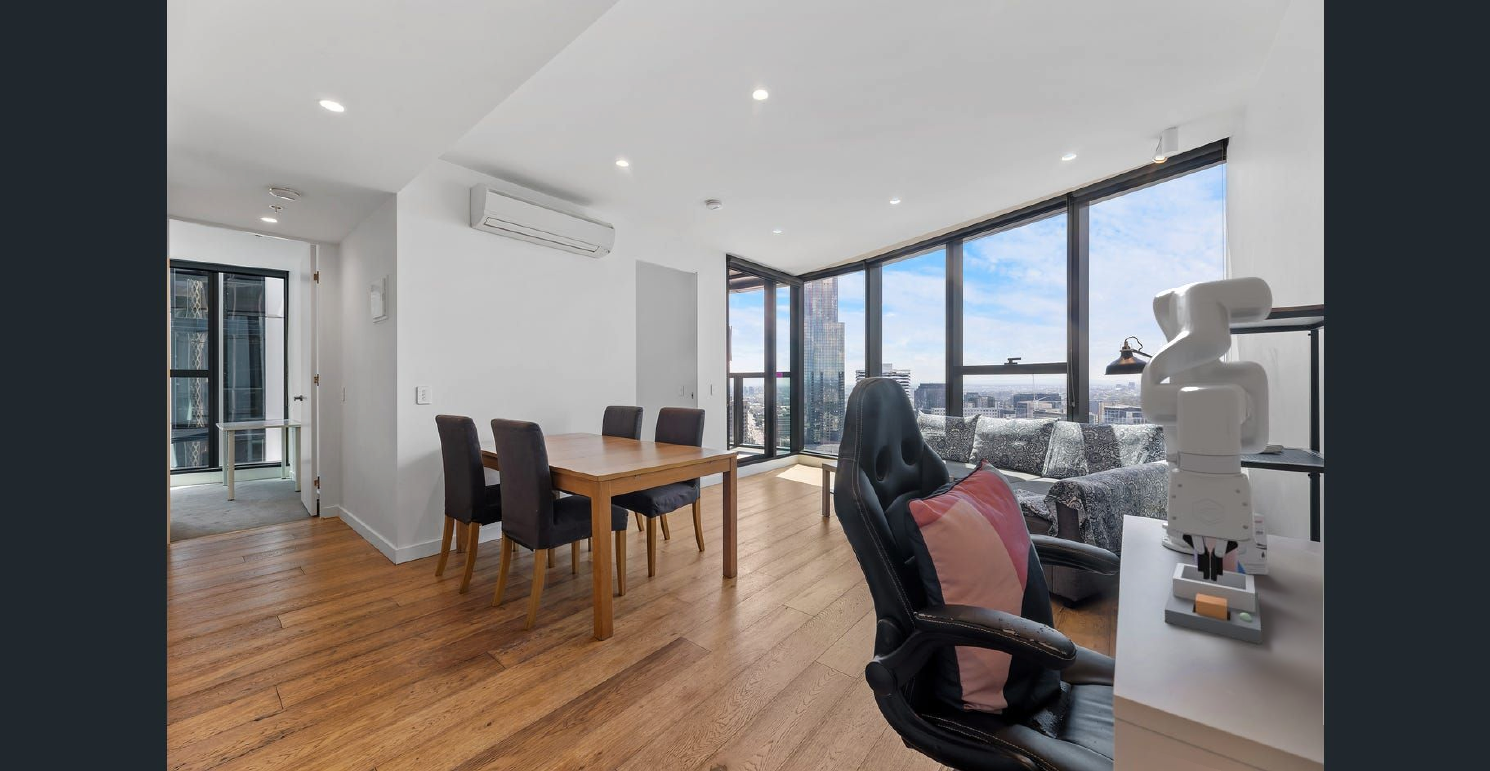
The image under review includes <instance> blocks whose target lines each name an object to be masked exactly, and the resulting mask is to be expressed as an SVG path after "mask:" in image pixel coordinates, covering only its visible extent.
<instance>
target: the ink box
mask: <svg viewBox="0 0 1490 771" xmlns="http://www.w3.org/2000/svg"><path fill="white" fill-rule="evenodd" d="M1254 536H1255V539H1256V542H1257V546H1256V547H1255V548H1237V560H1238V573H1241V574H1247V575H1268V574H1269V571H1268V570H1269V568H1268V567H1269V566H1268V564H1269V563H1268V543H1267V542H1268V541H1267V516H1266V515H1264V514H1260V513H1256V512H1254Z"/></svg>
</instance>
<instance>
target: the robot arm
mask: <svg viewBox="0 0 1490 771" xmlns="http://www.w3.org/2000/svg"><path fill="white" fill-rule="evenodd" d="M1272 309H1273V293H1272V289H1271V288H1270V286H1269V284H1268V283H1267V282H1266V281H1265V280H1264V279H1263V278H1260V277H1256V276H1247V277H1236V278H1235V277H1234V278H1227V279H1217V280H1208V281H1200V282H1193V283H1190V284H1189V283H1188V284H1186V285H1184V286H1181V287H1178V288H1177V287H1176V288H1171V289H1167V290H1164V291H1161V292H1159V293H1158V294H1156V295H1155V297H1153V301H1152V310H1153V313H1154V314H1153V315H1154V318H1155V320H1156V322H1157V324H1158V326H1159V328H1160V329H1161V331H1162V333H1163V335H1164V337H1165V339H1166V341H1167V344H1166V345H1164V346H1163V347H1162V348H1160V349H1159V350H1157V351H1156V352H1155V353H1154V354H1153V355H1152V357H1151V358H1150V359H1149V360H1148V361H1147V362H1146V364H1145V366H1144V368H1143V370H1142V373H1141V377H1140V409H1141V410H1140V411H1141V414H1142V417H1143V418H1144V419H1145V420H1146V421H1147V422H1148V423H1150V424H1152V425H1154V426H1155V425H1156V426H1162V433H1163V437H1164V441H1165V446H1166V454H1165V462H1166V463H1167V464H1168V468H1167V469H1168V489H1167V506H1166V507H1167V509H1166V510H1167V513H1166V514H1167V516H1166V517H1167V523H1162V525H1161V527H1162V529H1164V530H1165V533H1166V535H1165V536H1163V537H1161V544H1162V545H1163V546H1164V547H1166V548H1169V549H1171V550H1174V551H1177V552H1181V553H1185V554H1191V555H1194V550H1195V552H1196V553H1197V561H1198V571H1199V572H1203V579H1205V580H1208V579H1210V568H1211V580H1212V581H1216V582H1217V575H1221V576H1223V557H1224V556H1225V555H1226V554H1227V553H1229V552H1231V551H1232V550H1234V549H1236V548H1255V547H1256V546H1257V542H1256V539H1255V536H1254V513H1255V512H1254V511H1255V510H1254V504H1253V493H1252V489H1251V484H1250V480H1249V477H1248V475H1247V474H1245V473H1242V464H1241V463H1242V459H1241V457H1242V456H1241V455H1257V454H1258V455H1259V454H1260V453H1262V452H1264V451H1265V450H1266V449H1267V447H1268V444H1269V436H1270V420H1269V419H1270V417H1269V416H1270V415H1269V414H1270V413H1269V412H1270V409H1269V407H1270V406H1269V402H1270V401H1269V400H1270V399H1269V397H1270V395H1269V394H1270V392H1269V390H1270V389H1269V380H1268V375H1267V372H1266V370H1265V368H1264V367H1263V365H1262V364H1259V363H1258V362H1256V361H1251V360H1250V361H1249V360H1234V361H1232V360H1229V361H1227V360H1226V361H1221V358H1223V357H1224V356H1225V355H1226V354H1227V353H1228V352H1229V350H1230V349H1231V348H1232V347H1231V346H1232V338H1231V337H1232V336H1231V328H1230V324H1231V325H1232V324H1248V323H1260V322H1263V321H1265V320H1266V319H1267V318H1268V317H1269V315H1270V314H1271V312H1272ZM1168 378H1169V382H1164V380H1166V379H1168ZM1162 382H1164V383H1162ZM1204 537H1208V538H1215V539H1217V540H1216V545H1215V547H1214V548H1213V549H1212V552H1211V555H1210V552H1209V551H1208V548H1207V547H1206V546H1205V542H1204Z"/></svg>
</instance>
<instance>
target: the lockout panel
mask: <svg viewBox="0 0 1490 771" xmlns="http://www.w3.org/2000/svg"><path fill="white" fill-rule="evenodd" d="M1254 578H1255V575H1254V574H1241V573H1236V572H1230V571H1224V570H1223V576H1221V575H1217V582H1216V581H1212V580H1211V568H1210V579H1208V580H1205V579H1203V572H1199V571H1198V566H1195V564H1188V563H1181V562H1177V564H1176V567H1175V570H1174V574H1173V576H1172V585H1171V588H1170V591H1169V595H1168V598H1167V601H1166V605H1165V607H1164V622H1165V623H1170V624H1173V625H1178V626H1182V627H1186V628H1191V629H1194V630H1199V631H1203V632H1208V633H1211V634H1216V635H1220V636H1224V637H1229V638H1233V639H1237V640H1242V641H1246V642H1250V643H1255V644H1259V645H1262V625H1261V612H1260V602H1259V592H1256V590H1255V579H1254ZM1197 593H1198V594H1203V595H1208V596H1213V597H1218V598H1223V599H1227V620H1224V619H1220V618H1215V617H1211V616H1206V615H1201V614H1197V613H1196V602H1195V600H1196V595H1197Z"/></svg>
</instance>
